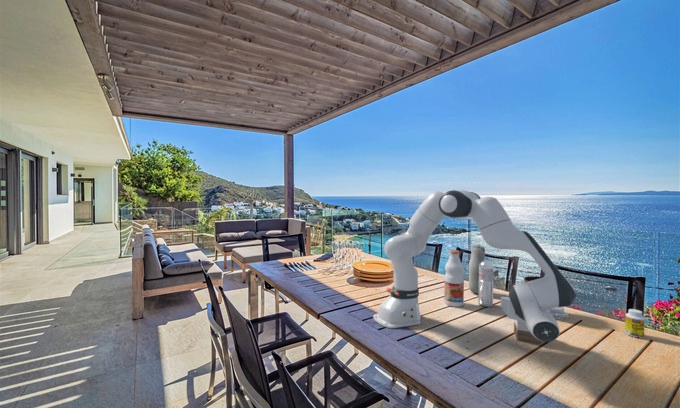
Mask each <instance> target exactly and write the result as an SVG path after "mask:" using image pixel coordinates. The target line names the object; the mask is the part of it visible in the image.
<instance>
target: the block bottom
mask: <svg viewBox="0 0 680 408" xmlns="http://www.w3.org/2000/svg"><path fill="white" fill-rule="evenodd" d="M513 333H514V335H515V336H514V337H515V338H516V341H519V342H525V343H531V344H536V345H537V344H538V345H542V341H540V340H538V339H536V338H535V337H534V336H533V335H532V334H531V332H528V331H522V330H517V327H516V325H515V322H513Z"/></svg>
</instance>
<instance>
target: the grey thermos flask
mask: <svg viewBox="0 0 680 408" xmlns="http://www.w3.org/2000/svg"><path fill="white" fill-rule="evenodd" d="M485 248H486V247H485V246H484V245H478V244H474V245H473V246H471V248H470V249H471V250H470V252H471V253H470V254H471V255H470V259H469V263H468V288H469V290H470V291H471V292H472V293H473V294H476V295H479V264H480V263H481V262H482V261H483V260H485V259H484V257H486V249H485Z"/></svg>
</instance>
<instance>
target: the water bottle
mask: <svg viewBox="0 0 680 408" xmlns="http://www.w3.org/2000/svg"><path fill="white" fill-rule="evenodd" d="M484 259H485V260H483V261H482V262H481V263H480V264H479V294H477V295H478V299H477V300H478V305H479V306H480V307H483V308H492V307H493V306H494V269H495V268H494V264H493V263H492V262H491V261H490V260H489V257H487V256H485V257H484Z"/></svg>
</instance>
